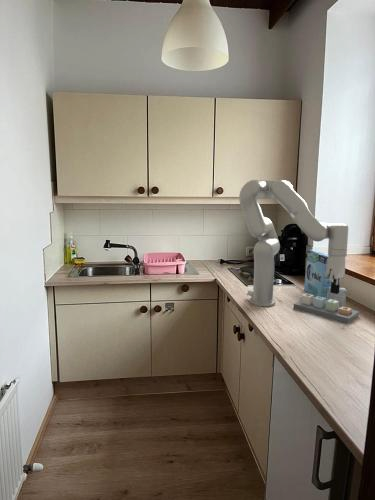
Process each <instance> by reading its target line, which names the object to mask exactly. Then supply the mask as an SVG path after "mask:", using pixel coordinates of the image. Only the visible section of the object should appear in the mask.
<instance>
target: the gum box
mask: <svg viewBox="0 0 375 500" xmlns="http://www.w3.org/2000/svg"><path fill="white" fill-rule="evenodd" d="M327 259H328V253H325V252H322V251H320V250H317V249H307V253H306V263H305V264H306V265H305V266H306V267H305V276H304V285H303V286H304V287H303V290H304V291H305V292H307V294H311V295H314V298H315V297H317V296H319V297H324V298H326V301H327V291H328V287H331V282H329V278H330V277H329V278H326V277H325V275H326V265H327Z"/></svg>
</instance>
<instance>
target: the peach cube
mask: <svg viewBox="0 0 375 500" xmlns="http://www.w3.org/2000/svg"><path fill="white" fill-rule="evenodd" d="M352 310H353V309H352V308H351V307H346V306H345V307H343V306H342V307H341V308H339V313H341V314H345V315H350V314H351V313H352Z"/></svg>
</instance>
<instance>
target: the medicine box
mask: <svg viewBox="0 0 375 500" xmlns="http://www.w3.org/2000/svg"><path fill="white" fill-rule="evenodd" d="M346 298H347V289H346V288H345V287H340V288H339V293H338V294H334V293H331V287H328V291H327V300H329V299H332V300H336V301H339V307H342V306H343V307H346Z"/></svg>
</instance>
